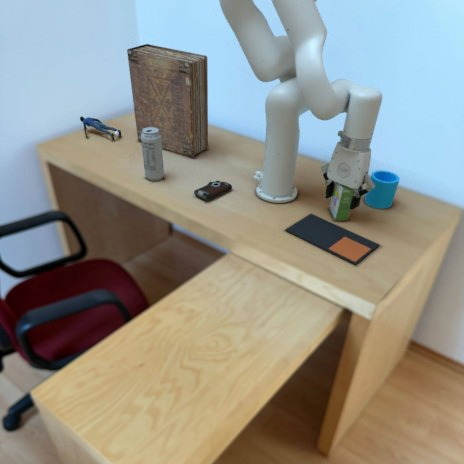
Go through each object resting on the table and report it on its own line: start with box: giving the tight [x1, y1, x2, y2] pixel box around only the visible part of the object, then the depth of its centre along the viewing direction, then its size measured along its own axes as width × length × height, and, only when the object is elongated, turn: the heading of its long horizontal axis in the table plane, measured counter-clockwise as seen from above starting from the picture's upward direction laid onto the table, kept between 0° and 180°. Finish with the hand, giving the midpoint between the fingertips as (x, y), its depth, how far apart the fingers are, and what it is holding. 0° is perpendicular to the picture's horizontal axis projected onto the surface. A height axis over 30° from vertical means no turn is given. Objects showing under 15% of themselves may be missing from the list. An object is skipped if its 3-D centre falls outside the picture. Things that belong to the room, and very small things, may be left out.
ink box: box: [329, 182, 355, 222], centre depth 122 cm, size 7×4×13 cm, turn 5°
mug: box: [364, 169, 401, 210], centre depth 132 cm, size 12×8×8 cm
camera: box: [193, 180, 233, 201], centre depth 133 cm, size 6×3×11 cm
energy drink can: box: [140, 127, 165, 182], centre depth 135 cm, size 6×6×15 cm
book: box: [126, 43, 209, 159], centre depth 149 cm, size 25×9×30 cm, turn 57°
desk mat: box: [285, 213, 380, 266], centre depth 118 cm, size 22×12×1 cm, turn 47°
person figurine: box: [79, 116, 122, 142], centre depth 163 cm, size 11×4×18 cm
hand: (341, 202), depth 124 cm, fingers closed on ink box, 7 cm apart
